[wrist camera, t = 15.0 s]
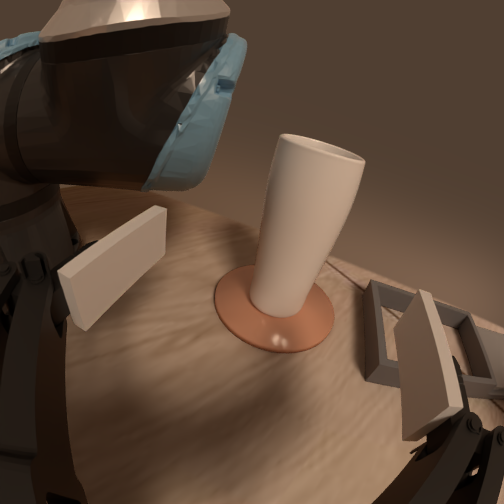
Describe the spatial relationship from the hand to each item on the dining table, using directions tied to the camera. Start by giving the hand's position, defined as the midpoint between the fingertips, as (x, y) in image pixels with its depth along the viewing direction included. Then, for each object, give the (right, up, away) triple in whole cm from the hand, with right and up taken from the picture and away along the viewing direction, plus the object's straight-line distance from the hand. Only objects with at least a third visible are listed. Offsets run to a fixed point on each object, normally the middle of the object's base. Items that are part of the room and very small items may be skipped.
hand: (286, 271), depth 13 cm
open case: (+25, -12, +10) cm, 30 cm away
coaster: (+1, -4, +14) cm, 15 cm away
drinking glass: (+1, -4, +13) cm, 14 cm away
